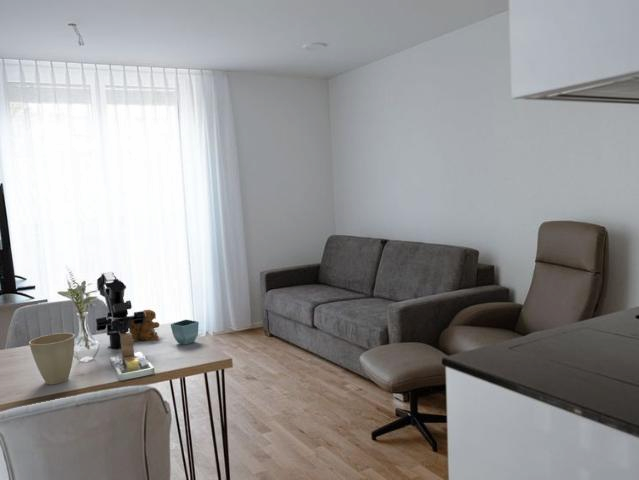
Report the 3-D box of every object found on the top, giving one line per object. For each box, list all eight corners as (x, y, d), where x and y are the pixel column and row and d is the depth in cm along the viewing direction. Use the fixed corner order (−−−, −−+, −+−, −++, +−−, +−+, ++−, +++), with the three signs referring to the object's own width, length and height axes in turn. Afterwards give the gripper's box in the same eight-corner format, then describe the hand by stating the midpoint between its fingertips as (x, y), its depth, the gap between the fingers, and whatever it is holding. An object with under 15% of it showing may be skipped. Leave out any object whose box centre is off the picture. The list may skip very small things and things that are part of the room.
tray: (116, 376, 205) (116, 368, 204) (150, 369, 210) (149, 361, 210) (120, 383, 197) (119, 375, 197) (154, 376, 202) (154, 368, 202)
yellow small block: (125, 367, 211) (125, 359, 210) (136, 365, 212) (136, 357, 212) (127, 371, 206) (127, 363, 206) (139, 369, 208) (138, 361, 208)
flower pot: (184, 347, 237) (183, 326, 236) (171, 344, 242) (169, 324, 241) (200, 341, 244) (199, 321, 243) (187, 338, 249) (186, 319, 248)
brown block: (122, 361, 218) (119, 334, 217) (133, 359, 220) (130, 332, 219) (125, 367, 211) (122, 339, 210) (136, 365, 213) (133, 337, 212)
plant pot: (85, 372, 211) (81, 331, 209) (69, 387, 196) (64, 343, 194) (45, 375, 210) (40, 333, 209) (26, 389, 196) (21, 345, 194)
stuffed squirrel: (160, 340, 250) (157, 311, 248) (127, 343, 247) (124, 314, 245) (161, 334, 259) (158, 306, 258) (129, 337, 256) (126, 309, 255)
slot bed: (110, 362, 221) (109, 357, 221) (141, 356, 226) (141, 351, 226) (116, 376, 205) (116, 370, 204) (150, 369, 210) (149, 363, 210)
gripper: (93, 298, 221) (99, 331, 212) (142, 291, 229) (149, 323, 220) (93, 314, 228) (99, 346, 220) (140, 307, 237) (147, 338, 228)
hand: (124, 338), depth 222 cm, fingers closed
